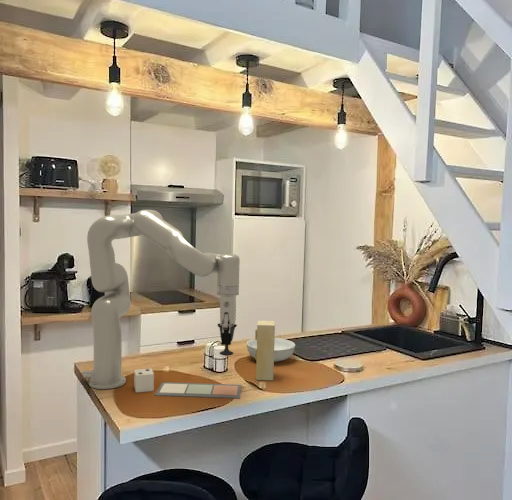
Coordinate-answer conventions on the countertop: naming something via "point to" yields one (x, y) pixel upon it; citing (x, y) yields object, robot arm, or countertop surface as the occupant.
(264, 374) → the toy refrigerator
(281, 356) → the serving bowl
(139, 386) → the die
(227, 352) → the sundae
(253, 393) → the countertop surface
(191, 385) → the game board
